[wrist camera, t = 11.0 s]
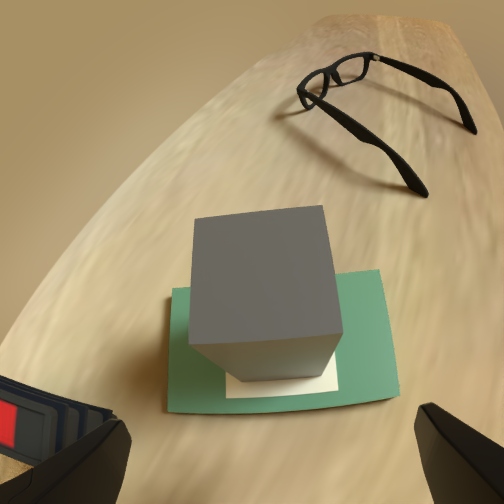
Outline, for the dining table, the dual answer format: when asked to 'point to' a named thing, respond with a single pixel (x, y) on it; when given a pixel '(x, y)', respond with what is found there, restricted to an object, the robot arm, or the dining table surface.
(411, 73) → the glasses
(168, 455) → the dining table surface
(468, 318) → the dining table surface
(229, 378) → the board
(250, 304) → the block
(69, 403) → the magazine
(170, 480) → the dining table surface
